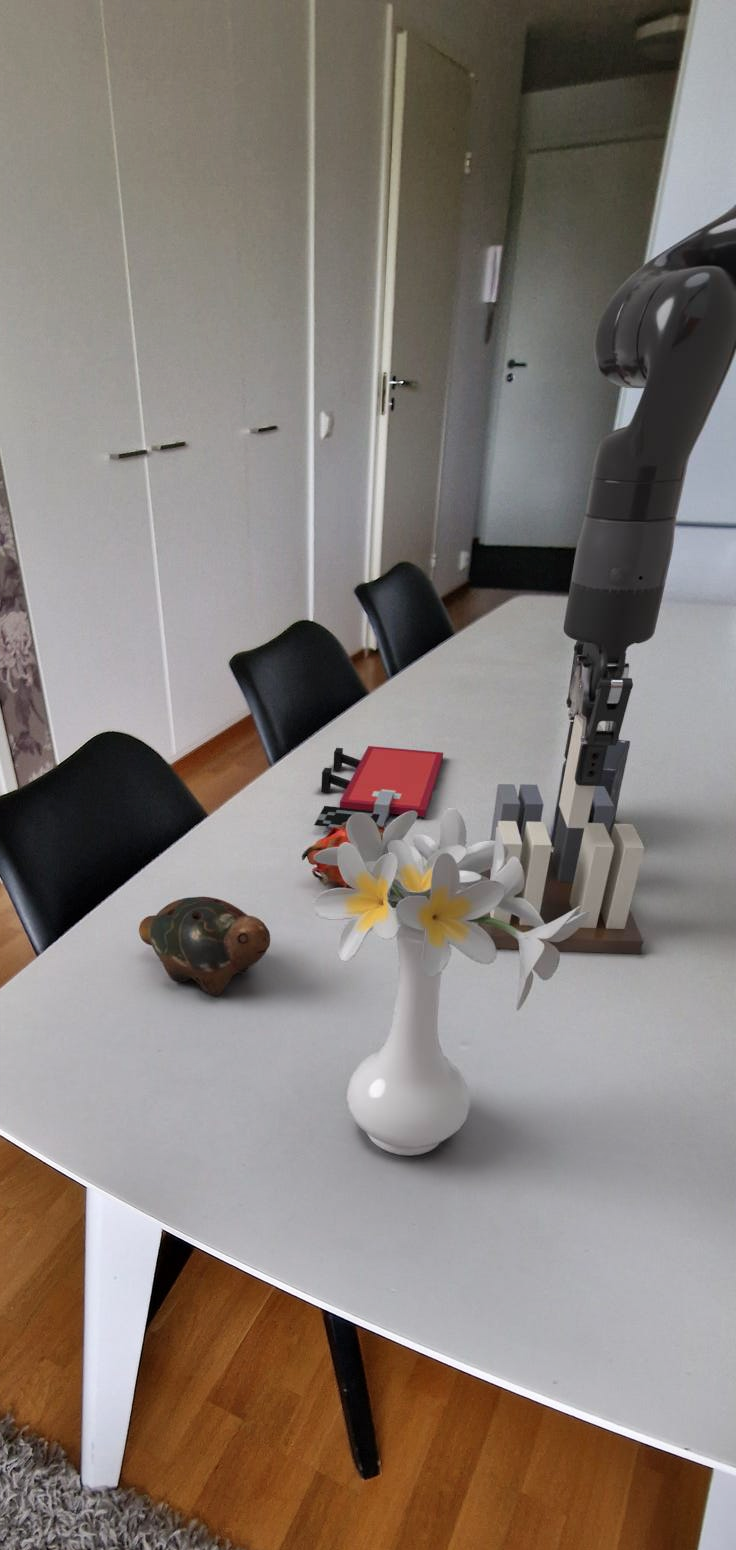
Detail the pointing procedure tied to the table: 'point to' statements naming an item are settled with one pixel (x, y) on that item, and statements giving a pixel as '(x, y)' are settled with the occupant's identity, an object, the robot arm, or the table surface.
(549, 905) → the board
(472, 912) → the flower vase
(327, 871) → the dragon fruit
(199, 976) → the decorative turtle
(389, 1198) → the table surface
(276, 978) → the table surface
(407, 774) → the red board with handle
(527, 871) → the white books
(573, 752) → the cream thin block
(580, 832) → the grey books
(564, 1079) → the table surface
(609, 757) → the small box
